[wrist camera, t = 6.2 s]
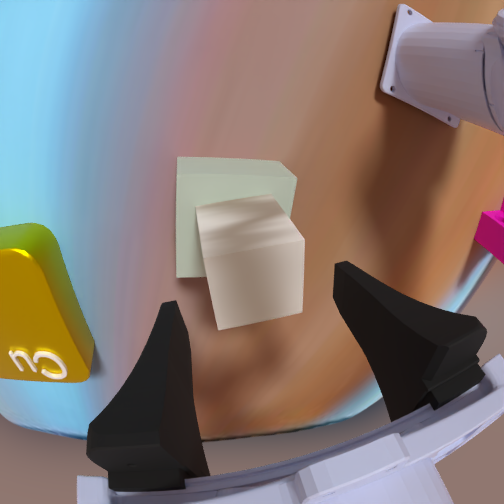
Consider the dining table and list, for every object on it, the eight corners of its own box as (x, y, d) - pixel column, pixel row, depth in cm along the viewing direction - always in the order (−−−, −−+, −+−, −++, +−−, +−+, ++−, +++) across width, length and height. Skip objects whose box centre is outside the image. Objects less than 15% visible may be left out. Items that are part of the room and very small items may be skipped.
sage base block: (277, 160, 21) (297, 178, 18) (264, 245, 25) (278, 274, 22) (177, 155, 20) (176, 173, 16) (175, 246, 23) (176, 277, 20)
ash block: (271, 193, 18) (304, 239, 14) (274, 256, 21) (302, 312, 16) (195, 206, 17) (203, 258, 13) (206, 269, 20) (218, 330, 15)
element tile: (53, 216, 20) (30, 250, 16) (100, 350, 28) (95, 388, 24) (-63, 237, 17) (-88, 266, 13) (-7, 349, 25) (-18, 380, 21)
